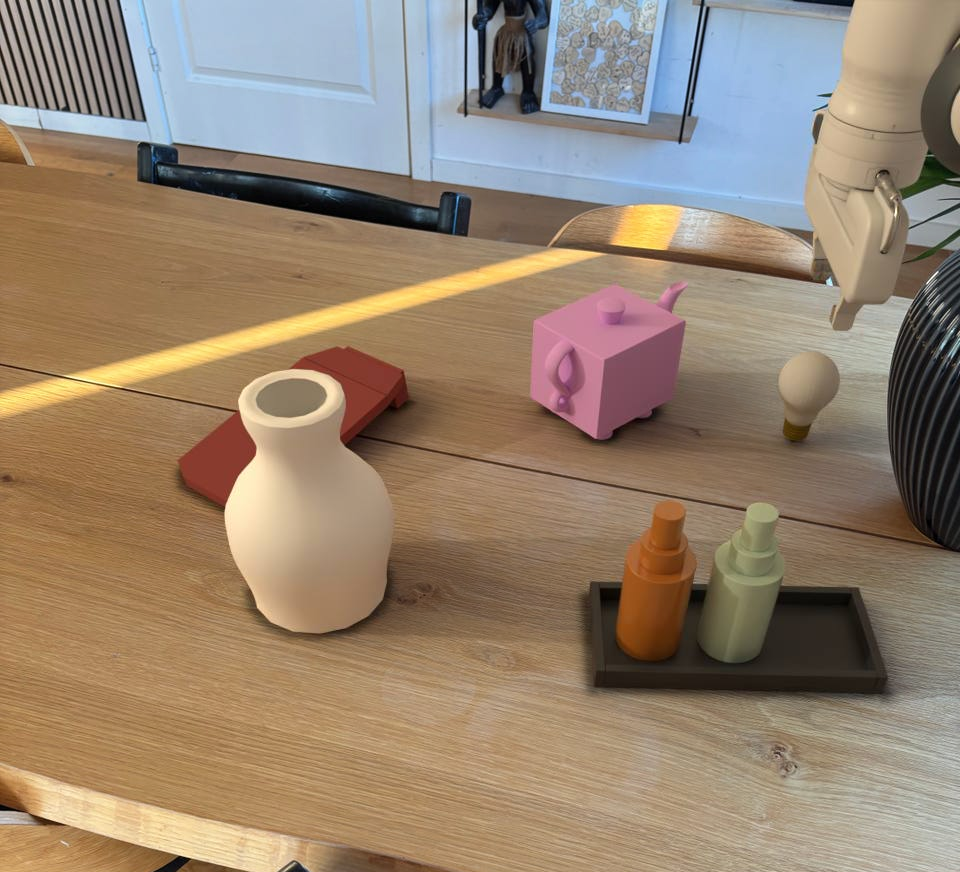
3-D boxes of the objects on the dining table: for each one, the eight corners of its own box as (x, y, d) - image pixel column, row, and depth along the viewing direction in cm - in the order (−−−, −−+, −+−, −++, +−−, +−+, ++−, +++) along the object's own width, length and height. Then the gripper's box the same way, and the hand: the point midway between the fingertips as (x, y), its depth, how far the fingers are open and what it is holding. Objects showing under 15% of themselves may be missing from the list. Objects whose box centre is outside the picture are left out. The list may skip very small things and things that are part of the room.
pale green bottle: (757, 616, 89) (793, 489, 78) (767, 664, 85) (807, 537, 75) (692, 615, 89) (720, 488, 79) (700, 662, 85) (731, 535, 75)
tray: (852, 603, 91) (858, 586, 89) (881, 693, 83) (888, 677, 82) (588, 597, 91) (590, 581, 90) (593, 686, 84) (595, 670, 82)
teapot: (577, 460, 105) (587, 352, 96) (512, 418, 110) (515, 311, 101) (705, 391, 114) (725, 286, 105) (639, 354, 119) (652, 251, 110)
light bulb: (791, 462, 105) (814, 378, 98) (753, 433, 108) (773, 350, 101) (833, 445, 107) (859, 361, 100) (795, 417, 110) (817, 334, 103)
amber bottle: (676, 615, 89) (702, 487, 79) (683, 662, 85) (712, 535, 75) (612, 613, 89) (630, 486, 79) (616, 660, 85) (635, 533, 75)
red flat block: (265, 549, 101) (422, 404, 111) (252, 514, 97) (416, 368, 107) (183, 502, 106) (341, 368, 116) (167, 467, 102) (332, 332, 112)
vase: (361, 517, 99) (341, 330, 84) (425, 608, 90) (415, 417, 75) (219, 563, 94) (172, 374, 79) (273, 664, 85) (231, 472, 71)
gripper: (944, 203, 79) (889, 361, 89) (879, 107, 93) (839, 252, 103) (862, 201, 79) (817, 359, 89) (810, 105, 93) (776, 251, 103)
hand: (828, 301), depth 96 cm, fingers open, 8 cm apart
